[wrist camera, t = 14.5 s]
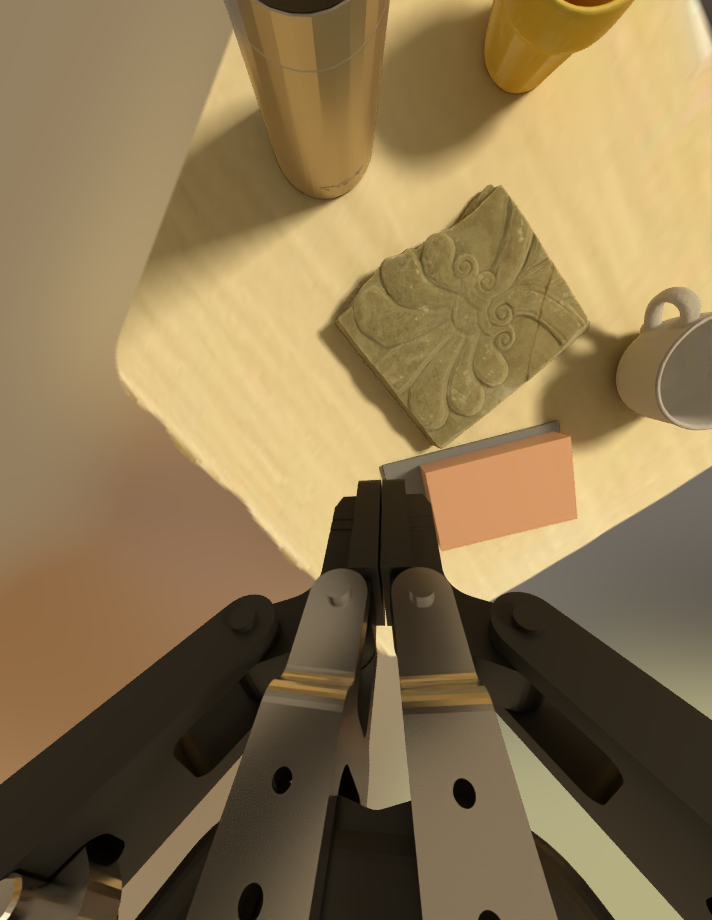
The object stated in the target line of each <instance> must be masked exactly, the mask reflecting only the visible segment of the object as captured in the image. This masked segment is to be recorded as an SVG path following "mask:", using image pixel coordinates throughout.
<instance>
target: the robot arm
mask: <svg viewBox="0 0 712 920" xmlns="http://www.w3.org/2000/svg"><path fill="white" fill-rule="evenodd" d="M224 3H225V5H226V8H227V11H228V14H229V17H230V20H231V23H232V26H233V29H234V32H235V35H236V38H237V41H238V44H239V47H240V50H241V53H242V56H243V59H244V62H245V65H246V68H247V71H248V74H249V77H250V80H251V83H252V86H253V89H254V92H255V95H256V98H257V101H258V104H259V107H260V110H261V113H262V116H263V119H264V122H265V125H266V129H267V132H268V135H269V138H270V141H271V144H272V147H273V150H274V153H275V156H276V159H277V161H278V163H279V166H280V168H281V170H282V172H283V173H284V175H285V176H286V178H287V179H288V180H289V181H290V182H291V184H292V185H293V186H294V187H295V188H297V189H298V190H300V191H301V192H303V193H304V194H306V195H309V196H311V197H314V198H321V199H329V198H335V197H338V196H341V195H343V194H345V193H347V192H348V191H349V190H351V189H352V188H353V187H354V186H355V185H356V184H357V183H358V182H359V181H360V180H361V178H362V176H363V175H364V173H365V171H366V169H367V167H368V164H369V161H370V158H371V152H372V146H373V138H374V129H375V122H376V114H377V106H378V97H379V88H380V80H381V71H382V63H383V54H384V45H385V37H386V28H387V20H388V11H389V3H390V0H224ZM385 610H386V618H387V626H392V631H393V640H394V649H395V653H396V655H397V658H398V667H399V677H400V688H401V699H402V710H403V720H404V731H405V742H406V752H407V762H408V773H409V782H410V793H411V801H408V802H405V803H402V804H399V805H395V806H392V807H388V808H385V809H381V810H372V809H369V808H367V797H368V785H369V740H370V729H371V718H372V708H373V698H374V688H375V678H376V667H377V655H378V653H377V647H376V625H377V626H385ZM495 712H496V713H497V714H498V715H499V716H500V717H501V718H502V719H503V721H504V722H505V723H506V724H507V725H508V726H509V727H510V728H511V729H512V730H513V732H514V733H515V734H516V735H517V736H518V737H519V738H520V739H521V740H522V741H523V742H524V744H525V745H526V746H527V747H528V748H529V749H530V750H531V751H532V752H533V754H535V756H536V757H537V758H538V759H539V760H540V761H541V762H542V764H543V765H544V766H545V767H546V768H547V769H548V770H549V771H550V772H551V773H552V775H553V776H554V777H555V778H556V779H557V780H558V781H559V782H560V783H561V784H562V786H563V787H564V788H565V789H566V790H567V791H568V792H569V793H570V794H571V795H572V797H573V798H574V799H575V800H576V801H577V802H578V803H579V804H580V805H581V807H582V808H583V809H584V810H585V811H586V812H587V813H588V814H589V815H590V816H591V818H592V819H593V820H594V821H595V822H596V823H597V824H598V825H599V826H600V827H601V829H602V830H603V831H604V832H605V833H606V834H607V835H608V836H609V837H610V838H611V839H612V841H613V842H615V844H616V845H617V846H618V847H619V848H620V849H621V851H623V853H624V854H625V855H626V856H627V857H628V858H629V859H630V861H631V862H632V863H633V864H634V865H635V866H636V867H637V868H638V869H639V870H640V872H641V873H642V874H643V875H644V876H645V877H646V878H647V879H648V880H649V881H650V883H651V884H652V885H653V886H654V887H655V888H656V889H657V890H658V891H659V893H660V894H661V895H662V896H663V897H664V898H665V899H666V900H667V901H668V902H669V904H670V905H671V906H672V907H673V908H674V909H675V910H676V911H677V912H678V913H679V915H680V916H681V917H682V918H683V919H684V920H712V720H711V719H709V718H708V717H706V716H705V715H704V714H702V713H701V712H700V711H698V710H697V709H695V708H694V707H693V706H691V705H690V704H688V703H687V702H686V701H684V700H683V699H681V698H680V697H679V696H677V695H676V694H674V693H673V692H672V691H670V690H669V689H667V688H666V687H665V686H663V685H662V684H660V683H659V682H657V681H656V680H655V679H654V678H652V677H651V676H649V675H648V674H646V673H645V672H644V671H642V670H641V669H639V668H638V667H637V666H635V665H634V664H633V663H631V662H629V661H628V660H627V659H626V658H624V657H623V656H621V655H620V654H619V653H617V652H616V651H614V650H613V649H612V648H610V647H609V646H607V645H606V644H604V643H603V642H601V641H600V640H599V639H598V638H596V637H595V636H593V635H592V634H591V633H589V632H588V631H586V630H585V629H584V628H582V627H581V626H579V625H578V624H576V623H575V622H574V621H572V620H571V619H570V618H568V617H567V616H565V615H564V614H563V613H561V612H560V611H558V610H557V609H556V608H554V607H553V606H551V605H550V604H549V603H547V602H546V601H544V600H543V599H541V598H539V597H536V596H534V595H531V594H528V593H523V592H511V593H506V594H503V595H501V596H500V597H498V598H497V599H496V600H495V601H494V603H492V602H489V601H485V600H482V599H478V598H475V597H471V596H469V595H466V594H464V593H462V592H460V591H459V590H457V589H456V588H455V587H453V586H452V585H451V584H450V583H449V582H448V580H447V579H446V577H445V575H444V573H443V570H442V565H441V559H440V553H439V547H438V542H437V536H436V530H435V524H434V519H433V513H432V507H431V503H430V502H429V501H428V500H427V498H426V497H425V496H424V495H423V494H422V493H421V494H406V489H405V479H388V480H382V483H381V480H367V481H359V482H358V489H357V496H353V497H343V498H342V500H341V501H340V502H339V503H338V505H337V506H336V507H335V511H334V515H333V522H332V525H331V532H330V534H329V539H328V544H327V549H326V554H325V558H324V563H323V568H322V572H321V575H320V577H319V578H318V579H317V580H316V581H315V582H314V584H313V585H312V587H311V588H310V589H309V590H308V591H306V592H305V593H303V594H301V595H299V596H297V597H294V598H291V599H288V600H284V601H281V602H278V603H275V604H272V603H271V601H270V600H269V599H267V598H266V597H264V596H261V595H248V596H244V597H241V598H239V599H237V600H235V601H233V602H232V603H231V604H229V605H228V606H227V607H225V608H224V609H223V610H222V611H220V612H219V613H218V614H216V615H215V616H214V617H213V618H211V619H210V620H209V621H207V622H206V623H205V624H204V625H203V626H201V627H200V628H199V629H197V630H196V631H195V632H194V633H192V634H191V635H190V636H188V637H187V638H186V639H185V640H183V641H182V642H181V643H180V644H178V645H177V646H176V647H174V648H173V649H172V650H171V651H169V652H168V653H167V654H166V655H164V656H163V657H162V658H161V659H159V660H158V661H157V662H155V663H154V664H153V665H152V666H150V667H149V668H148V669H147V670H145V671H144V672H143V673H141V674H140V675H139V676H138V677H136V678H135V679H134V680H133V681H131V682H130V683H129V684H127V685H126V686H125V687H124V688H122V689H121V690H120V691H119V692H117V693H116V694H115V695H114V696H112V697H111V698H110V699H108V700H107V701H106V702H105V703H103V704H102V705H101V706H100V707H98V708H97V709H96V710H94V711H93V712H92V713H91V714H89V715H88V716H87V717H86V718H84V719H83V720H82V721H80V722H79V723H78V724H77V725H75V726H74V727H73V728H72V729H70V730H69V731H68V732H67V733H65V734H64V735H63V736H62V737H60V738H59V739H58V740H57V741H55V742H54V743H53V744H51V745H50V746H49V747H47V748H46V749H45V750H44V751H42V752H41V753H40V754H39V755H37V756H36V757H35V758H34V759H32V760H31V761H30V762H28V763H27V764H26V765H25V766H24V767H22V768H21V769H20V770H18V771H17V772H16V773H14V774H13V775H12V776H11V777H9V778H8V779H7V780H6V781H4V782H3V783H2V784H0V920H118V917H119V911H118V910H119V906H120V901H121V894H122V888H123V887H124V886H125V885H126V884H127V883H128V882H129V880H130V879H131V878H132V877H133V876H134V875H135V874H136V873H137V872H138V870H139V869H140V868H141V867H142V866H143V865H144V864H145V863H146V861H147V860H148V859H149V858H150V857H151V856H152V855H153V854H154V853H155V851H156V850H157V849H158V848H159V847H160V846H161V845H162V844H163V842H164V841H165V840H166V839H167V838H168V837H169V836H170V835H171V834H172V832H173V831H174V830H175V829H176V828H177V827H178V826H179V825H180V824H181V823H182V821H183V820H184V819H185V818H186V817H187V816H188V815H189V814H190V812H191V811H192V810H193V809H194V808H195V807H196V806H197V804H199V802H200V801H201V800H202V799H203V798H204V797H205V796H206V795H207V794H208V792H209V791H210V790H211V789H212V788H213V787H214V786H215V785H216V783H217V782H218V781H219V780H220V779H221V778H222V777H223V776H224V775H225V773H226V772H227V771H228V770H229V769H230V768H231V767H232V765H233V764H234V763H235V762H236V761H237V760H238V759H239V758H240V756H242V755H243V756H242V759H241V762H240V765H239V768H238V771H237V774H236V776H235V779H234V782H233V785H232V788H231V791H230V794H229V796H228V799H227V802H226V805H225V808H224V811H223V814H222V816H221V819H220V821H219V822H218V823H217V824H216V825H214V826H213V827H212V828H211V829H210V830H209V831H208V832H207V833H206V834H205V835H204V836H203V837H202V838H201V839H200V840H199V842H197V844H196V845H195V846H194V847H193V848H192V850H191V851H190V852H189V853H188V854H187V856H186V857H185V858H184V859H183V861H182V862H181V863H180V864H179V866H178V867H177V868H176V869H175V871H174V872H173V873H172V874H171V876H170V877H169V878H168V879H167V881H166V882H165V883H164V884H163V886H162V887H161V888H160V889H159V891H158V892H157V893H156V894H155V895H154V897H153V898H152V899H151V900H150V902H149V903H148V904H147V905H146V907H145V908H144V909H143V910H142V912H141V913H140V914H139V915H138V917H137V918H136V919H135V920H615V919H614V918H613V917H612V915H611V914H610V913H609V912H608V910H607V909H606V908H605V906H604V905H603V904H602V902H601V901H600V900H599V898H598V897H597V896H596V895H595V893H594V892H593V891H592V889H591V888H590V887H589V886H588V884H587V883H586V882H585V881H584V879H583V878H582V877H581V876H580V875H579V874H578V873H577V872H576V871H575V869H573V867H572V866H571V865H570V864H569V863H568V862H567V861H566V860H565V859H564V858H563V857H562V856H561V855H560V854H559V853H558V852H557V851H556V850H555V849H553V848H552V847H551V846H550V845H549V844H548V843H547V842H546V841H544V840H543V839H542V838H540V837H539V836H538V835H536V834H535V833H534V832H533V831H531V829H530V826H529V823H528V819H527V816H526V813H525V809H524V806H523V803H522V799H521V796H520V793H519V789H518V786H517V783H516V779H515V776H514V773H513V770H512V767H511V763H510V760H509V756H508V753H507V750H506V746H505V743H504V740H503V736H502V733H501V730H500V727H499V723H498V720H497V716H496V713H495Z"/></svg>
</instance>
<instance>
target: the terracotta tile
mask: <svg viewBox="0 0 712 920" xmlns="http://www.w3.org/2000/svg"><path fill="white" fill-rule="evenodd" d="M420 470H421V475H422V479H423V484H424V489H425V493H426V498H427V500H428V501H429V502H430V503H431V507H432V513H433V519H434V524H435V530H436V536H437V542H438V545H439V547H440V549H441V551H445V550H449V549H453V548H457V547H461V546H466V545H470V544H474V543H478V542H482V541H486V540H490V539H495V538H499V537H503V536H507V535H511V534H515V533H519V532H523V531H528V530H532V529H536V528H540V527H544V526H548V525H552V524H557V523H561V522H565V521H569V520H573V519H577V509H576V496H575V483H574V471H573V458H572V445H571V436H568V435H565V434H561V433H558V432H555V431H553V432H549V433H545V434H541V435H537V436H533V437H529V438H525V439H521V440H517V441H513V442H509V443H505V444H502V445H498V446H494V447H490V448H486V449H482V450H478V451H474V452H470V453H466V454H462V455H458V456H454V457H450V458H447V459H443V460H439V461H435V462H431V463H427V464H423V465H420Z"/></svg>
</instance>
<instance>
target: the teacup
mask: <svg viewBox="0 0 712 920" xmlns="http://www.w3.org/2000/svg"><path fill="white" fill-rule="evenodd" d="M665 302H669V303H672V304H674V305H675V306H676V307H677V308H678V309H679V311H680V317H676V318H672V319H669V320H666V321H663V322H662V321H661V320H662V309H663V306H664V303H665ZM640 332H641V334H640V335H639V336H638V337H637V338H636V339H635V340H634V341H633V342H632V343H631V344H630V345H629V346H628V348H627V349H626V351H625V352H624V354H623V356H622V357H621V359H620V362H619V365H618V368H617V373H616V386H617V391H618V394H619V396H620V398H621V399H622V401H623V402H624V403H625V405H626V406H627V407H629V408H630V409H631V410H633V411H634V412H636V413H638V414H640V415H643V416H645V417H648V418H651V419H655V420H659V421H662V422H666V423H671V424H675V425H677V426H679V427H682V428H685V429H690V430H707V429H712V312H708V313H701V301H700V299H699V297H698V295H697V294H696V293H695V292H693V291H692V290H690V289H687V288H684V287H672V288H669V289H666V290H664V291H662V292H661V293H659V294H658V295H657V296H655V297H654V298H653V299H652V300H651V301H650V303H649V304H648V306H647V308H646V312H645V317H644V324H643V325H642V326H641V329H640Z"/></svg>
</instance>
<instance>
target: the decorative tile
mask: <svg viewBox="0 0 712 920" xmlns="http://www.w3.org/2000/svg"><path fill="white" fill-rule="evenodd" d="M335 324H336V325H337V327H338V328H339V329H340V331H341V332H342V333H343V334H344V336H345V337H346V338H347V340H348V341H349V342H350V343H351V345H352V346H353V347H354V349H355V350H356V351H357V352H358V354H359V355H360V356H361V357H362V359H363V360H364V361H365V362H366V364H367V365H368V366H369V368H370V369H371V370H372V371H373V373H374V374H375V375H376V376H377V378H378V379H379V380H380V381H381V383H382V384H383V385H384V386H385V387H386V389H387V390H388V391H389V392H390V393H391V395H392V396H393V397H394V398H395V400H396V401H397V402H398V403H399V405H400V406H401V407H402V408H403V410H404V411H405V412H406V413H407V415H408V416H409V417H410V418H411V419H412V420H413V422H414V423H415V424H416V425H417V426H418V428H419V429H420V430H421V431H422V433H423V434H424V435H425V436H426V438H427V439H428V440H429V441H430V442H431V443H432V444H433V445H434V446H436V447H438V448H441V449H442V448H443V447H445V446H446V445H448V444H449V443H450V442H452V441H453V440H454V439H455V438H457V437H458V436H459V435H461V434H462V433H463V432H464V431H466V430H467V429H468V428H469V427H471V426H472V425H473V424H474V423H476V422H477V421H478V420H480V419H481V418H482V417H483V416H485V415H486V414H487V413H489V412H490V411H491V410H492V409H494V408H495V407H496V406H497V405H498V404H500V403H501V402H502V401H503V400H504V399H506V398H507V397H508V396H509V395H511V394H512V393H513V392H514V391H515V390H517V389H518V388H519V387H520V386H522V385H523V384H524V383H525V382H527V381H528V380H530V379H531V378H532V377H533V376H534V375H535V374H537V373H538V372H539V371H540V370H541V369H543V368H544V367H545V366H546V365H547V364H548V363H549V362H551V361H552V360H553V359H554V358H555V357H556V356H557V355H559V354H560V353H561V352H562V351H563V350H565V349H566V348H567V347H568V346H569V345H570V344H572V343H573V342H574V341H575V340H576V339H577V338H578V337H580V336H581V335H582V334H583V333H584V332H585V331H586V330H587V329H588V328H589V326H590V322H589V320H588V319H587V316H586V314H585V313H584V311H583V309H582V308H581V306H580V304H579V303H578V301H577V300H576V298H575V296H574V295H573V293H572V291H571V289H570V288H569V286H568V285H567V283H566V282H565V280H564V279H563V277H562V276H561V274H560V273H559V271H558V270H557V268H556V266H555V265H554V263H553V262H552V261H551V259H550V258H549V256H548V254H547V253H546V251H545V249H544V248H543V246H542V244H541V243H540V241H539V239H538V238H537V236H536V235H535V233H534V231H533V230H532V228H531V226H530V225H529V223H528V221H527V220H526V218H525V217H524V215H523V214H522V213H521V211H520V210H519V208H518V207H517V205H516V204H515V203H514V202H513V200H512V199H511V198H510V196H509V195H508V193H507V192H506V191H505V189H504V188H503V186H502V185H500V186H497V187H496V188H495V187H494V186H493V185H488V186H486V187H485V189H484V190H483V191H482V192H481V193H480V194H479V195H478V196H477V197H476V198H475V199H473V201H472V202H471V203H470V204H469V206H468V208H467V209H466V210H465V212H464V213H463V215H462V216H461V219H460V221H458V222H457V223H455V224H454V226H453V227H451V228H450V229H446V230H442V231H441V232H440V233H436V234H433V235H431V236H429V237H428V238H427V240H426V241H425V242H423V243H422V244H421V245H420V246H419V247H418V248H417V249H410V248H409V249H406V250H405V251H404V252H403V253H401V254H399V255H396V256H393V257H389V258H386V259H384V261H383V262H382V264H381V266H380V267H379V269H378V270H377V271H376V272H375V273H374V274H373V275H372V277H371V278H370V279H369V280H368V281H367V282H366V283H365V284H364V285H363V286H362V287H361V288H360V291H359V293H358V294H357V296H356V297H355V298H354V299H353V300H352V301H351V302H350V303H349V304H348V306H347V308H346V309H345V311H344V312H343V313H341V314H340V315H339V317H338V318H337V319H336V320H335Z"/></svg>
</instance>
